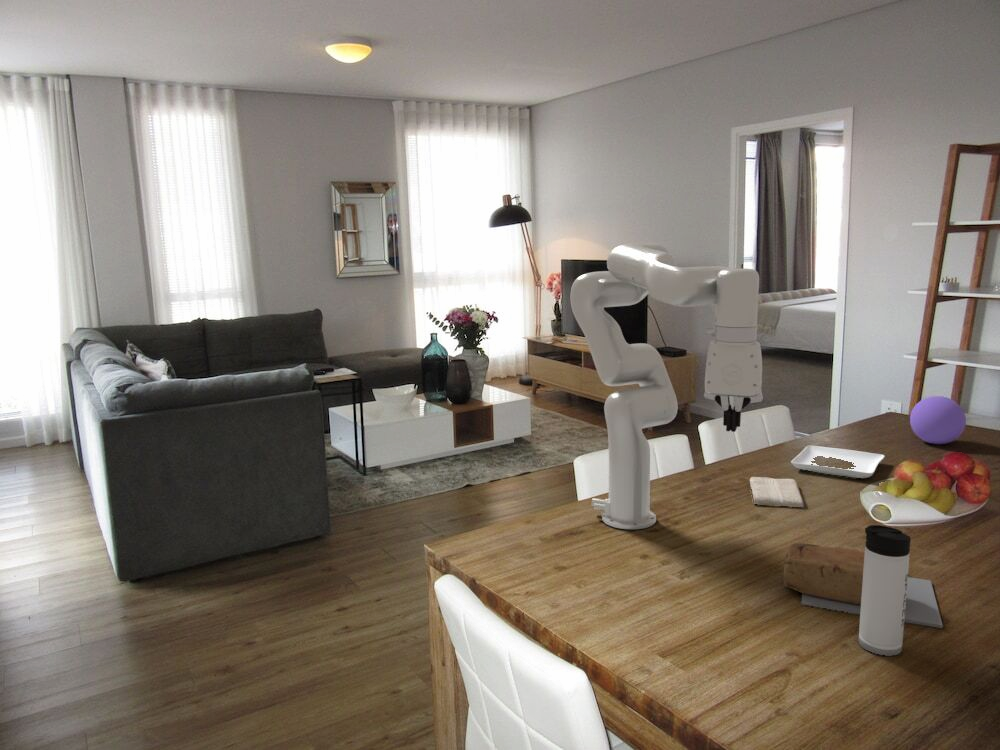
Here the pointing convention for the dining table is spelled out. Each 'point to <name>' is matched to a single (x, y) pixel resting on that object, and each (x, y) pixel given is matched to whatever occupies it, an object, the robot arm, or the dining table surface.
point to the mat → (917, 608)
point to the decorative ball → (937, 420)
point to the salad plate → (861, 460)
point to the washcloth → (775, 492)
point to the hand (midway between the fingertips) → (731, 429)
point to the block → (825, 572)
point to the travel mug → (884, 590)
